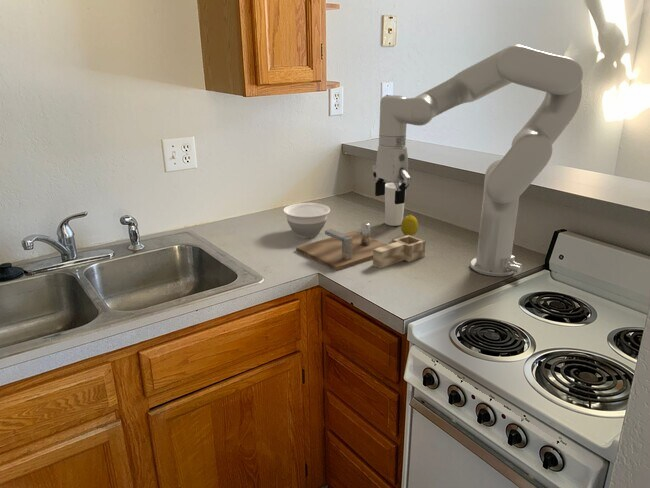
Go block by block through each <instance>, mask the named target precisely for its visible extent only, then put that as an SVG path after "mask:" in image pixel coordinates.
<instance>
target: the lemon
mask: <svg viewBox="0 0 650 488" xmlns="http://www.w3.org/2000/svg"><path fill="white" fill-rule="evenodd" d="M400 228H401V230H400V231H401V232H402V234H403V235H404V236H407V235H410V236H413V237H414V235H416V234H417V231H418V229H419V222H418V219H417V218H416V217H415V216H414V215H412V214H409V215H406V216H405V217H403V220H402V224H401V225H400Z"/></svg>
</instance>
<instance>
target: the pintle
mask: <svg viewBox="0 0 650 488" xmlns="http://www.w3.org/2000/svg"><path fill="white" fill-rule="evenodd" d="M360 225H361V226H360V228H361V229H360V230H361V231H360V234H361V245H362V246H369V245H370V238H371V223H370V222H364V221H363V222H361V224H360Z"/></svg>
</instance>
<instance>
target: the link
mask: <svg viewBox="0 0 650 488" xmlns="http://www.w3.org/2000/svg"><path fill="white" fill-rule="evenodd" d="M425 254H426V240H424V239H422V238H419V237H416V236H414V235H413V236H410V235H407V236H406V235H404V236H401V237H398V238H394V239H392V242H391V243H389V244H388V245H385V246H382V247H379V248H376V249H373V259H372V266H374V267H377V268H378V269H382V268H384V267H387V266H391V265H393V264H396V263H399V262H403V261H406V262H408V263H409V262H412V261H415V260H418V259H421V258H424V257H425Z"/></svg>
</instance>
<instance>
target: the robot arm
mask: <svg viewBox="0 0 650 488" xmlns="http://www.w3.org/2000/svg"><path fill="white" fill-rule="evenodd" d="M583 75H584V72H583V68H582V65H581V64H580V63H579V62H578V61H576V60H575V59H573V58H571V57H568V56H563V55H558V54H554V53H549V52H545V51H542V50H538V49H534V48H531V47H528V46H524V45H522V44H512V45H509V46H507V47H505V48H503V49H501V50H500V51H497V52H495V53H494V54H492V55H489V56H487V57H486V58H484V59H482V60H480V61H479V62H476V63H474V64H472V65H470V66H469V67H467V68H465V69H463V70H461V71H459V72H458V73H457V74H455V75H453V76H452V77H451V78H449V79H447V80H445V81H443V82H441V83H440V84H438V85H436V86H434V87H432V88H430V89H428V90H426V91H424V92H422V93H420V94H419V95H417V96H415V97H410V98H409V97H408V98H407V97H406V96H403V95H394V94H393V95H392V94H391V95H385V96H383V97H381V99H380V102H379V103H380V104H379V105H380V107H379V128H378V130H379V131H378V132H379V133H378V147H377V154H376V160H375V164H373V165H372V166H371V169H372V172H373V178H374V179H373V181H374V183H375V185H374V186H375V187H374V188H375V189H374V190H375V191H374V194H375V195H374V196H376V197H381V196H385V184H386V181H388V183H394V184H395V186H396V189H397V190H396V191H395V204H402V203H404V202H406V201H405V200H406V193H405V190H406V191H407V189H408V187H409V186H410V182H411V180H412V177H411V176H410V174H409V157H408V156H409V155H408V148H407V147H406V142H407V141H406V139H407V125H412V126H420V127H421V126H425V125H427V124H428V123H430V122H431V121H432V119H433V118H435V117H437V116H439V115H441V114H443V113H445V112H447V111H449V110H451V109H453V108H455V107H457V106H458V107H459V106H460V105H463V104H468V103H473V102H474V101H478V100H480V99H482V98H484V97H486V96H487V95H490V94H491V93H495V91H497V90H500V89H501V88H504V87H505V86H508V85H510V84H512V83H513V84H516V85H518V86H522V87H526V88H530V89H533V90H536V91H541V92H545V96H544V99H543V101H542V102H541V104H540V105H539V106H538V108H537V109H536V111H535V112H534V114H532V116H531V117H530V118H529V119H528V121H527V122H526V123H525V125H524V126H523V127H522V128H521V129H520V130H519V131H518V133H516V135H515V136H514V138H513V139H512V141H511V147H510V148H509V149H508V150H507V152H506V153H505V154H504V156H503V157H502V158H500V159H497V160H495V161H493V162H492V163H491V164H490V165H489V166H488V167H487V169H486V171H485V174H484V180H483V181H484V183H483V196H482V203H481V204H482V205H481V213H480V214H481V215H480V223H479V231H478V232H479V233H478V241H477V249H476V250H477V253H476V257H474V258H473V259H471V261H470V264H469V266H470V268H471V269H472V270H473V271H474V272H477V273H479V274H480V275H485V276H491V277H508V276H510V275H513V274H514V273H517V274H520V273H521V272H522V269H523V264H522V263H519V262H516V261H515V258H516V256H515V255H513V249H514V240H515V232H516V231H515V230H516V225H517V219H518V211H519V202H520V196H521V195H522V194H523V193H524V192H525V191H526V190H527V188H528V187H529V186H531V184H532V183H533V182H534V180H536V178H537V177H538V176H539V175H540V174H541V172H542V171H543V170H544V169H545V167H546V166H547V164H548V163H549V161H550V160H551V158H552V155H553V144H554V143H555V142H556V140H557V139H558V138H559V137H560V136H561V135H562V133H563V132H564V131H565V129H566V128H567V127H568V125H569V124H570V123H571V121H572V120H573V118H574V117H575V115H577V114H576V113H577V112H578V110H579V107H580V105H581V101H582V93H583V83H582V80H583V78H584V77H583ZM399 183H401V185H400V186H399Z"/></svg>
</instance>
